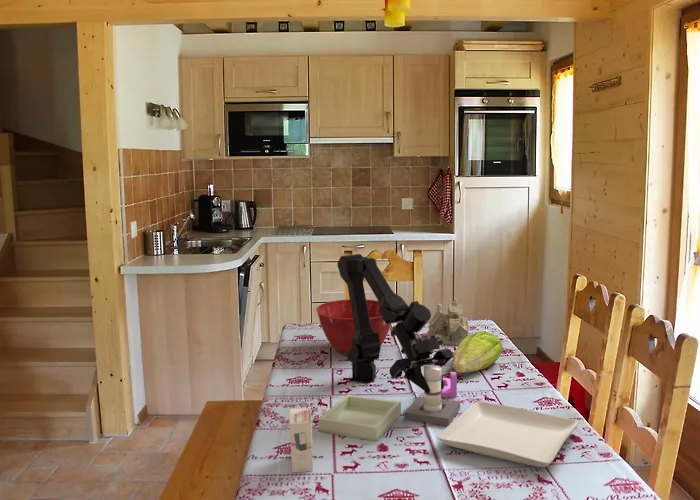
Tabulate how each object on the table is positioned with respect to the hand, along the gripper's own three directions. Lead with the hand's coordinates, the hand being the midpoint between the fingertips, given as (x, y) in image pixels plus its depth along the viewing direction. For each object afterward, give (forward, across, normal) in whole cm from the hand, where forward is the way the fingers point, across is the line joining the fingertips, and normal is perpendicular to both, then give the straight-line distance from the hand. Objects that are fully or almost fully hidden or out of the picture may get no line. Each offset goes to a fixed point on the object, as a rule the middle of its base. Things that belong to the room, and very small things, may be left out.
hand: (436, 390), depth 178 cm
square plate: (+21, +5, -10) cm, 24 cm away
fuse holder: (+4, 0, +6) cm, 7 cm away
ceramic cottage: (-32, +50, +42) cm, 73 cm away
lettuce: (-11, +35, +21) cm, 42 cm away
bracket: (-4, +15, +15) cm, 22 cm away
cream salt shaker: (+4, 0, +6) cm, 7 cm away
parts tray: (-1, -19, +11) cm, 22 cm away
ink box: (+8, -43, +3) cm, 43 cm away
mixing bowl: (-39, +16, +49) cm, 65 cm away
